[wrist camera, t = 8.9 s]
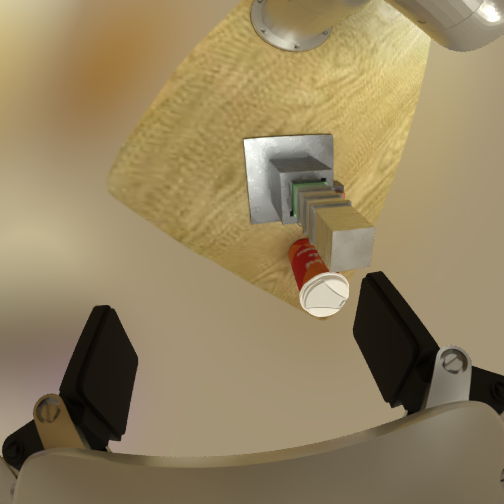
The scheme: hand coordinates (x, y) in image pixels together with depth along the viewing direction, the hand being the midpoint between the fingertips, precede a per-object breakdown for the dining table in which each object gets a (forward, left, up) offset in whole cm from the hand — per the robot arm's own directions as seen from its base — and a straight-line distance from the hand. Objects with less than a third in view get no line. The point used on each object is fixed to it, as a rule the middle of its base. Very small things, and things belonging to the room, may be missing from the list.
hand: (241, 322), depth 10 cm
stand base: (+5, +10, -36) cm, 38 cm away
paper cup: (+19, +12, -36) cm, 43 cm away
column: (+5, +10, -30) cm, 32 cm away
